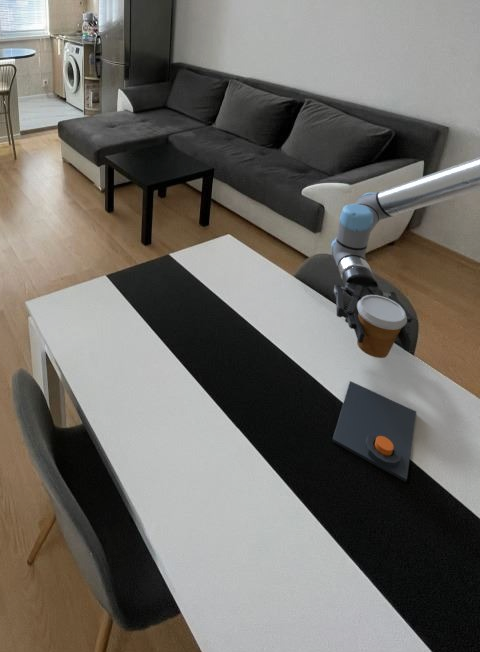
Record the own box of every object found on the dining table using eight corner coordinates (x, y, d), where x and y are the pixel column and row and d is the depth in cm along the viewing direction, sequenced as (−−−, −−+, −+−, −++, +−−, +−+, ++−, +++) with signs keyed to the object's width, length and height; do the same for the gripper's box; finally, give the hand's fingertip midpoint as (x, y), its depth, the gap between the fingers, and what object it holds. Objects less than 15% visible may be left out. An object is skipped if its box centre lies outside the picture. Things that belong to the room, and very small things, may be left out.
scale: (348, 386, 105) (351, 376, 104) (414, 417, 97) (417, 406, 96) (331, 444, 93) (333, 433, 91) (404, 485, 85) (408, 474, 83)
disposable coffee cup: (343, 347, 102) (351, 307, 98) (357, 325, 108) (366, 287, 104) (389, 371, 95) (401, 330, 91) (402, 347, 101) (413, 307, 97)
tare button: (375, 438, 90) (377, 432, 90) (393, 447, 88) (394, 441, 88) (373, 449, 88) (374, 444, 88) (390, 459, 86) (392, 453, 86)
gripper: (400, 294, 113) (436, 364, 93) (312, 282, 120) (329, 345, 100) (406, 271, 110) (445, 338, 91) (316, 260, 117) (333, 320, 97)
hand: (384, 341), depth 95 cm, fingers closed on disposable coffee cup, 8 cm apart
